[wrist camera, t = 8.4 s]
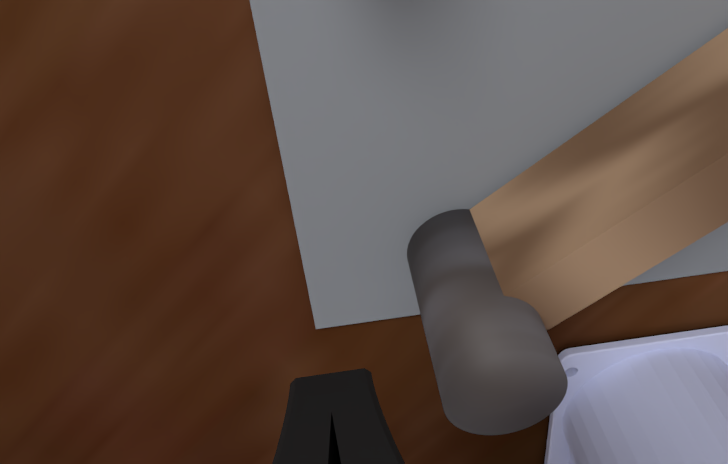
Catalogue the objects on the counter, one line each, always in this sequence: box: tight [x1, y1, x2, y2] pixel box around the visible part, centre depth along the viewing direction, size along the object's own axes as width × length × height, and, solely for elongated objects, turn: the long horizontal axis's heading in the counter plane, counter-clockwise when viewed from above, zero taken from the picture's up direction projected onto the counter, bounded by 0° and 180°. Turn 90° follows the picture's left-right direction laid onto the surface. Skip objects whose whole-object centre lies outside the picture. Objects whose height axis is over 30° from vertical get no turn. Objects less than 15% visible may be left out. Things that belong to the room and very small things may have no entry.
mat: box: [250, 0, 728, 329], centre depth 18 cm, size 20×18×1 cm
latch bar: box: [407, 28, 728, 435], centre depth 17 cm, size 17×3×6 cm, turn 130°
